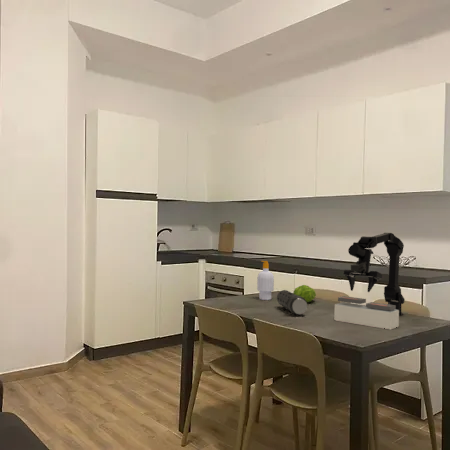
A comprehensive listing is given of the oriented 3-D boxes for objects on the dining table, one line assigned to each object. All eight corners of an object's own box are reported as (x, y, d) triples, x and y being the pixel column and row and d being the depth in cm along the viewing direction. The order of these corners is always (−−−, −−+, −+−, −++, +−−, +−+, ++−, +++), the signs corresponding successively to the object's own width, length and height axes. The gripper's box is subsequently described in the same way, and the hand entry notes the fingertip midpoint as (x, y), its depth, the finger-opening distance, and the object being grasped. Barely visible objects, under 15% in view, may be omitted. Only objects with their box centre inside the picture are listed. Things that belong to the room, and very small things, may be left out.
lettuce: (320, 290, 306) (304, 278, 309) (317, 294, 283) (300, 280, 286) (308, 305, 308) (292, 293, 311) (305, 309, 284) (288, 296, 287)
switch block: (343, 317, 245) (343, 302, 245) (398, 326, 226) (398, 309, 226) (334, 320, 239) (334, 304, 239) (390, 329, 219) (390, 312, 219)
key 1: (343, 299, 244) (343, 296, 244) (365, 302, 236) (365, 298, 236) (338, 301, 239) (338, 297, 239) (360, 304, 231) (360, 300, 231)
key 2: (371, 305, 234) (371, 302, 233) (395, 309, 225) (395, 305, 225) (365, 307, 229) (366, 303, 229) (390, 310, 221) (390, 306, 221)
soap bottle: (256, 297, 307) (257, 260, 307) (273, 298, 306) (273, 260, 306) (257, 300, 297) (257, 261, 296) (274, 300, 296) (274, 261, 296)
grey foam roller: (292, 307, 275) (292, 289, 275) (308, 317, 247) (309, 297, 247) (276, 307, 273) (276, 289, 273) (291, 317, 245) (291, 297, 245)
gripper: (339, 256, 241) (334, 286, 237) (373, 257, 227) (368, 289, 224) (351, 261, 248) (346, 291, 244) (384, 262, 234) (380, 294, 231)
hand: (359, 291), depth 236 cm, fingers open, 9 cm apart
